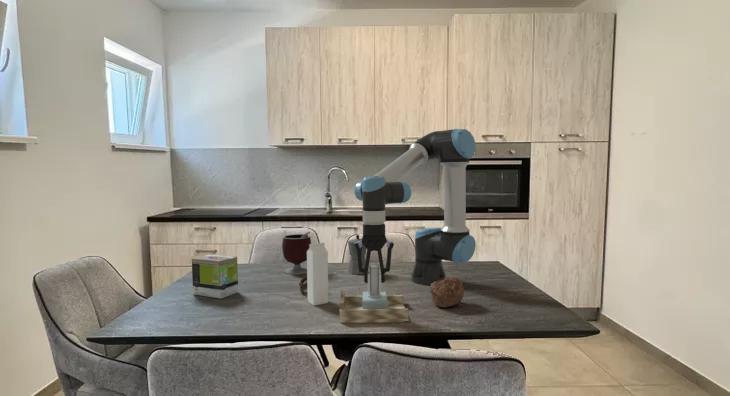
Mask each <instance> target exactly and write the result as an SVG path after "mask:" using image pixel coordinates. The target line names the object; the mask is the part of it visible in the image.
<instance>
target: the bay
mask: <svg viewBox="0 0 730 396" xmlns="http://www.w3.org/2000/svg"><path fill="white" fill-rule="evenodd" d="M345 292H346V291H345V290H342V291H340V298H339V324H344V323H345V324H350V323H351V324H353V323H354V324H355V323H356V324H357V323H360V324H361V323H363V324H364V323H367V324H368V323H405V322H404V321H410V320H409V317H410V315H409V308H408V307H407V308H406V307H405V304H404V301H405V300H404V299H405V298H404V294H401V293H400V292H396V293H394V294H386V297H387V300H388V304H387V309H363V304H362V294H361V295H346V293H345ZM402 321H403V322H402Z"/></svg>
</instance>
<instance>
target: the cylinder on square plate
mask: <svg viewBox="0 0 730 396" xmlns="http://www.w3.org/2000/svg"><path fill="white" fill-rule="evenodd" d="M379 269H380V265H369V272H370V293H368V291H361V295H362V304H363V309H387V304H388V300H387V297H386V295H387V291H381V293H379V272H380V270H379Z"/></svg>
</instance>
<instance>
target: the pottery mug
mask: <svg viewBox="0 0 730 396" xmlns="http://www.w3.org/2000/svg"><path fill="white" fill-rule="evenodd" d="M298 286H299V291H300V292H301V293H303V291H306V290H307V275H305V276H304V277H303V278H301V279H300V282H299V283H298Z"/></svg>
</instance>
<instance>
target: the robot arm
mask: <svg viewBox="0 0 730 396" xmlns="http://www.w3.org/2000/svg"><path fill="white" fill-rule="evenodd" d="M475 153H476V140H475V138H474V136H473V134H472V133H471V131H469V130H468V129H465V128H454V129H446V130H445V129H444V130H436V131H432V132H429V133H428V134H425V135H423V136H422V137H420V138H418V139H417V140H416V141H414V143H412V144H411V145H409V148H408V150H406V151H405V152H404V153H402V154H401V155H400V156H399V157H397V158H396V159H395V160H394V161H392V162H390V163H389V164H388V165H386V166H385V167H384V168H382V169H381V170H380V171H379V172H377V173H376V174H375V175H373V176H366V177H364V178H363V180H362V181H358V182H357V183H356V185H355V186H354V190H353V191H354V192H353V193H354V195H355V198H356V199H357V200H358V201H362V222H363V224H362V237H361V238H360V239H361V241H359V242H355V247H356V249H357V256H358V267H359V272H363V273H364V274H363V276H364V277H363V279H364V281H363V282H364V284H367V292H368V293H370V271H369V269H370V262H371V261H370V260H371V256H372V255H371V254H372V252H374V251H375V252H377V255H378V262H379V269H380V270H379V293H381V292H382V284H384V283H385V281H386V280H385V279H386V277H385V274H386V273H388V272H390V270H391V264H392V263H391V261H392V251H393V248H394V246H395V244H394V242H393V241H390V240H388V239H387V236H386V224H385V222H386V205H392V204H393V205H394V204H403V203H407V202H409V200H410V199H411V197H412V188H411V185H409V183H407V182H405V181H401V180H402V179H403V178H405V177H406V176H407V175H408V174H410V173H411V172H412V171H413V170H415V169H416V168H417V167H419V165H424V164H426V163H427V162H429V161H432V160H439V164H440V165H441V166H442V167H443V201H444V202H443V203H444V204H443V215H444V216H443V218H444V219H443V221H444V225H443V226H442V227H427V228H425V227H424V228H418V229H417V230H415V236H414V256H415V258H414V260H415V261H414V262H415V263H414V265H413V268H412V271H411V274H410V276H411V277H410V279H411V281H412V282H413V283H416V284H420V285H427V286H428V285H430V286H431V284H433V283H434V282H436V281H439V280H444V279H447V275H446V271H445V269H444V266H443V261H447V262H448V261H449V262H453V263H455V264H457V263H459V264H466V263H468V262H469V261H470V260H471V259H472V257H474V254H475V251H476V245H477V243H476V240H475V237H474V236H472V235H471V234H470V229H469V228H468V226H466V225H467V222H466V219H467V218H466V216H467V215H466V214H467V213H466V212H467V210H466V209H467V207H466V206H467V205H466V203H467V202H466V196H467V195H466V192H467V191H466V189H467V188H466V185H467V184H466V183H467V182H466V180H467V179H466V176H467V175H466V172H467V169H466V168H467V166H468V165H469V164H470V159H471V158H473V157H474V156H475ZM362 243H363V245H364V246H365V247H366V254H365V259H366V261H365V268H362V259H361V249H360V248H361V247H362ZM385 245H386V247H387V251H386V263H385V266H384V260H383V254H382V249H383V248H384V246H385Z"/></svg>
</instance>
